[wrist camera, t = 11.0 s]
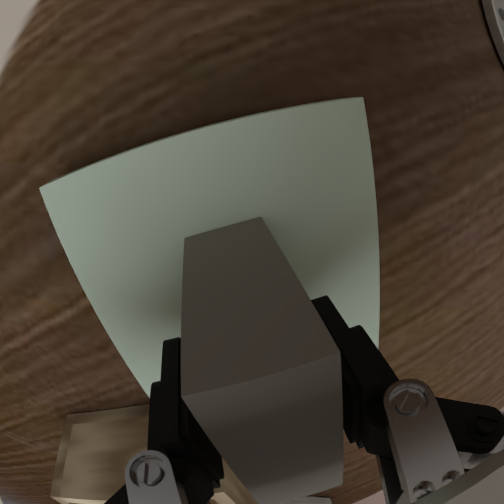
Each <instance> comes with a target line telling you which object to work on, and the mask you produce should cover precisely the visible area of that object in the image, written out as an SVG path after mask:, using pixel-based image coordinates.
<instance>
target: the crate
mask: <svg viewBox="0 0 504 504" xmlns="http://www.w3.org/2000/svg"><path fill="white" fill-rule="evenodd" d="M148 421H149V404H145V405H138V406H132V407H125V408H118V409H111V410H103V411H94V412H85V413H75V414H67V417H66V421H65V425H64V429H63V433H62V438H61V442H60V446H59V451H58V456H57V461H56V466H55V471H54V476H53V482H52V488H51V494H50V497H52V498H53V499H55V500H57V501H58V502H60V503H61V504H104V503H105V502H106V501H107V500H108V499H109V498H111V497H112V496H113V495H114V494H115V493H116V492H117V491H118V490H119V489H120V488H121V487H122V486H123V485H124V484H125V483H126V482H125V468H126V465H127V463H128V462H129V460H130V459H131V458H132V457H133V456H135V455H136V454H137V453H140V452H142V451H147V443H148ZM222 462H223V469H224V479H220V486H221V488H214V496H213V497H212V498H211V499H210V502H211V504H259V503H258V502H257V501H256V500H255V498H254V497H253V496H252V495H251V494H250V492H249V491H248V490H247V489H246V487H245V486H244V485H243V484H242V482H241V481H240V480H239V479H238V477H237V476H236V475H235V473H234V472H233V471H232V469H231V468H230V467H229V465H228V464H227V463H226V461H225V460H224V459H223V457H222Z"/></svg>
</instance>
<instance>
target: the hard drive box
mask: <svg viewBox="0 0 504 504" xmlns="http://www.w3.org/2000/svg"><path fill="white" fill-rule="evenodd" d="M279 504H332V501H331V499H330V498H323V497H313V496H310V497H306V496H305V497H302V498H298V499H295V500H291V501H287V502H283V503H279Z"/></svg>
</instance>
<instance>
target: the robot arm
mask: <svg viewBox="0 0 504 504" xmlns="http://www.w3.org/2000/svg"><path fill="white" fill-rule="evenodd" d="M482 4H483V8H484V12H485V16H486V20H487V23H488V26H489V29H490V33H491V36H492V38H493V41H494V44H495V46H496V49H497V52H498V54H499V56H500V58H501V61H502V63H503V65H504V0H482ZM311 302H312V303H313V305H314V307H315V308H316V310H317V312H318V314H319V315H320V317H321V319H322V321H323V322H324V324H325V326H326V328H327V329H328V331H329V333H330V335H331V336H332V338H333V340H334V342H335V343H336V345H337V347H338V349H339V350H340V354H341V372H342V398H343V429H344V431H345V433H346V435H347V438H348V440H349V442H350V443H353V442H356V443H357V446H358V448H359V449H360V448H363V447H365V449H366V451H367V452H368V453H371V454H375V455H376V460H377V464H378V468H379V473H380V477H381V482H382V486H383V491H384V496H385V501H386V504H504V412H500V411H499V410H498V409H496V408H494V407H491V406H486V405H480V404H473V403H467V402H461V401H455V400H449V399H444V398H439V397H435V396H434V394H433V391H432V390H431V388H430V387H429V386H428V385H427V384H426V383H424V382H423V381H420V380H417V379H410V378H409V379H402V380H399V379H398V378H397V376H396V375H395V373H394V372H393V370H392V369H391V367H390V366H389V364H388V363H387V361H386V360H385V359H384V357H383V356H382V354H381V353H380V351H379V350H378V348H377V347H376V345H375V344H374V343H373V341H372V340H371V338H370V337H369V335H368V334H367V333H366V331H365V330H364V328H363V327H362V326H361V325H357V326H354V327H351V328H349V327H348V325H347V324H346V322H345V321H344V319H343V318H342V316H341V315H340V313H339V312H338V310H337V309H336V307H335V306H334V304H333V303H332V301H331V300H330V298H329V297H328V296H327V295H325V296H322V297H319V298H316V299H312V300H311ZM220 479H224V469H223V462H222V456H221V455H220V453H219V452H218V451H217V449H216V448H215V446H214V445H213V444H212V442H211V441H210V439H209V438H208V436H207V435H206V434H205V432H204V431H203V429H202V428H201V426H200V425H199V423H198V422H197V420H196V419H195V417H194V416H193V414H192V413H191V411H190V410H189V408H188V406H187V405H186V403H185V402H184V400H183V399H182V397H181V338H180V337H177V338H172V339H168V340H164V341H163V348H162V363H161V379H160V381H157V382H153V383H152V384H151V390H150V404H149V421H148V443H147V451H142V452H140V453H137V454H136V455H135V456H133V457H132V458H131V459H130V460H129V462H128V463H127V465H126V468H125V482H126V483H125V484H124V485H123V486H122V487H121V488H120V489H119V490H118V491H117V492H116V493H115V494H114V495H113V496H112V497H111V498H109V499H108V500H107V501H106V502H105V503H104V504H211V502H210V499H211V498H212V497H213V496H214V488H221V486H220Z"/></svg>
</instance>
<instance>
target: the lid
mask: <svg viewBox="0 0 504 504" xmlns="http://www.w3.org/2000/svg"><path fill="white" fill-rule="evenodd" d="M39 189H40V192H41V194H42V197H43V200H44V202H45V205H46V208H47V210H48V213H49V215H50V218H51V220H52V223H53V225H54V227H55V230H56V232H57V235H58V237H59V239H60V241H61V244H62V246H63V248H64V250H65V253H66V255H67V257H68V259H69V261H70V263H71V265H72V268H73V270H74V272H75V274H76V276H77V278H78V280H79V282H80V284H81V286H82V288H83V290H84V292H85V294H86V295H87V297H88V299H89V301H90V303H91V305H92V307H93V309H94V310H95V312H96V314H97V316H98V318H99V319H100V321H101V323H102V325H103V326H104V328H105V330H106V331H107V333H108V335H109V337H110V338H111V340H112V342H113V343H114V345H115V347H116V348H117V350H118V351H119V353H120V355H121V356H122V358H123V359H124V361H125V362H126V364H127V366H128V367H129V369H130V370H131V372H132V373H133V375H134V376H135V378H136V379H137V381H138V382H139V384H140V385H141V386H142V388H143V389H144V391H145V392H146V394H147V395H148V396H149V398H150V390H151V384H152V383H153V382H157V381H160V379H161V363H162V348H163V341H164V340H168V339H172V338H177V337H180V338H181V397H182V399H183V400H184V402H185V403H186V405H187V406H188V408H189V410H190V411H191V413H192V414H193V416H194V417H195V419H196V420H197V422H198V423H199V425H200V426H201V428H202V429H203V431H204V432H205V434H206V435H207V436H208V438H209V439H210V441H211V442H212V444H213V445H214V446H215V448H216V449H217V451H218V452H219V453H220V455H221V456H222V457H223V459H224V460H225V461H226V463H227V464H228V465H229V467H230V468H231V469H232V471H233V472H234V473H235V475H236V476H237V477H238V479H239V480H240V481H241V482H242V484H243V485H244V486H245V487H246V489H247V490H248V491H249V492H250V494H251V495H252V496H253V497H254V498H255V500H256V501H257V502H258V503H259V504H279V503H283V502H287V501H291V500H295V499H298V498H302V497H305V496H309V495H312V494H315V493H319V492H322V491H325V490H328V489H331V488H334V487H337V486H339V485H342V484H343V398H342V372H341V354H340V350H339V349H338V347H337V345H336V343H335V342H334V340H333V338H332V336H331V335H330V333H329V331H328V329H327V328H326V326H325V324H324V322H323V321H322V319H321V317H320V315H319V314H318V312H317V310H316V308H315V307H314V305H313V303H312V302H311V300H312V299H316V298H319V297H322V296H325V295H327V296H328V297H329V298H330V300H331V301H332V303H333V304H334V306H335V307H336V309H337V310H338V312H339V313H340V315H341V316H342V318H343V319H344V321H345V322H346V324H347V325H348V327H349V328H351V327H354V326H357V325H361V326H362V327H363V328H364V330H365V331H366V333H367V334H368V335H369V337H370V338H371V340H372V341H373V343H374V344H375V345H376V347H377V348H378V342H379V313H380V266H379V236H378V218H377V204H376V191H375V181H374V171H373V162H372V153H371V145H370V138H369V131H368V124H367V117H366V111H365V105H364V99H363V97H349V98H342V99H334V100H327V101H321V102H314V103H308V104H302V105H297V106H291V107H286V108H281V109H275V110H270V111H266V112H261V113H256V114H252V115H247V116H243V117H239V118H235V119H230V120H226V121H222V122H218V123H215V124H211V125H207V126H203V127H200V128H196V129H192V130H189V131H186V132H182V133H179V134H175V135H172V136H169V137H166V138H162V139H159V140H156V141H153V142H150V143H147V144H144V145H141V146H138V147H135V148H132V149H129V150H127V151H124V152H121V153H118V154H116V155H113V156H110V157H108V158H105V159H102V160H100V161H97V162H95V163H92V164H90V165H87V166H85V167H82V168H80V169H77V170H75V171H72V172H70V173H68V174H65V175H63V176H61V177H59V178H56V179H54V180H52V181H50V182H48V183H46V184H45V185H43V186H41V187H40V188H39Z"/></svg>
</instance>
